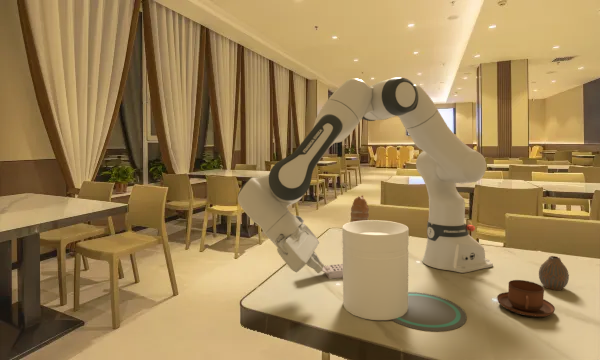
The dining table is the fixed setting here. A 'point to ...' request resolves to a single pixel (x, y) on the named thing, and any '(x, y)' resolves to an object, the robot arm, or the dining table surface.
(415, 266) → the dining table surface
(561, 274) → the vase
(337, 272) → the mobile phone
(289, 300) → the dining table surface
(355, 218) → the brown ribbed oblong piece
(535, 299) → the cup and saucer
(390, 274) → the canister
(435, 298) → the charging mat
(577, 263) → the dining table surface
